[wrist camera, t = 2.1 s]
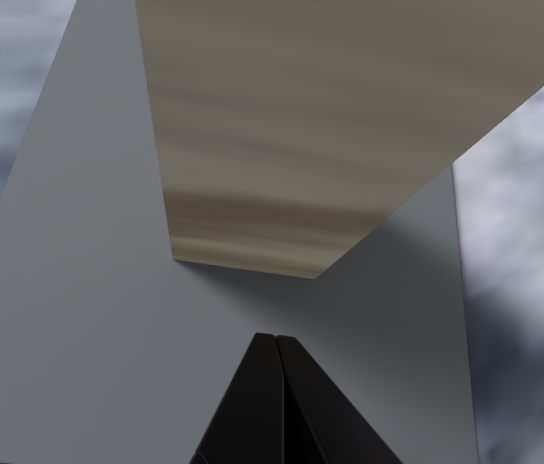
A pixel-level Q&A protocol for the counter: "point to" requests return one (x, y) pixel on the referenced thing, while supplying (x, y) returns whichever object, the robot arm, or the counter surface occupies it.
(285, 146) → the birch block
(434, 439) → the rubber mat
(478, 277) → the counter surface
